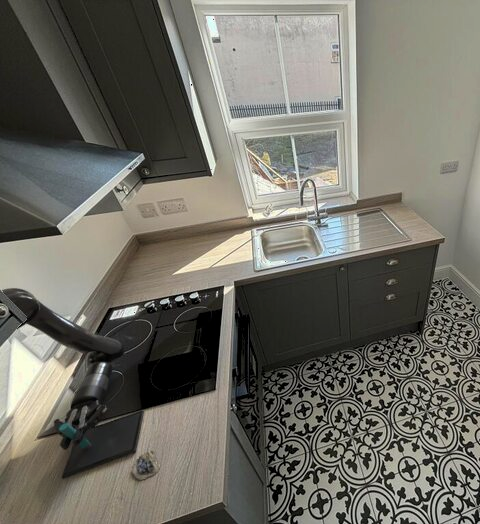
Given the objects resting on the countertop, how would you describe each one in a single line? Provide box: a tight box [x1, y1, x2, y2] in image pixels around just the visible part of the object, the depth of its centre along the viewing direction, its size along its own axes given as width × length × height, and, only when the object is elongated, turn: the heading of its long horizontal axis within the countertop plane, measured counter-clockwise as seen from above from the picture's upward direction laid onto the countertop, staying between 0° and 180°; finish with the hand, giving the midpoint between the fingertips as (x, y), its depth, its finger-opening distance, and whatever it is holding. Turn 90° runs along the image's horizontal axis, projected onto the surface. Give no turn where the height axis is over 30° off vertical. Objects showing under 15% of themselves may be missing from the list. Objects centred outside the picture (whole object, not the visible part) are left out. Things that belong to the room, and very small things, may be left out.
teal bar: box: [59, 422, 91, 450], centre depth 83 cm, size 2×2×12 cm
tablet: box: [60, 410, 145, 480], centre depth 88 cm, size 18×13×1 cm
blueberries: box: [131, 450, 161, 481], centre depth 82 cm, size 7×8×2 cm
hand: (70, 445), depth 80 cm, fingers closed on teal bar, 2 cm apart
